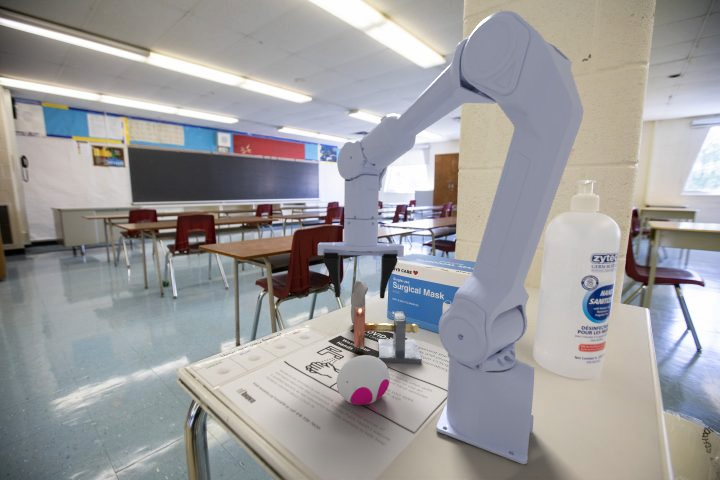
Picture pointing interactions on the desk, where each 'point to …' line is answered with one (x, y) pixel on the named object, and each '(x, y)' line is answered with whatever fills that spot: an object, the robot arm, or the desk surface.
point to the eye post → (399, 344)
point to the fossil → (358, 297)
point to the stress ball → (363, 380)
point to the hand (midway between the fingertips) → (359, 296)
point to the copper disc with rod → (373, 327)
